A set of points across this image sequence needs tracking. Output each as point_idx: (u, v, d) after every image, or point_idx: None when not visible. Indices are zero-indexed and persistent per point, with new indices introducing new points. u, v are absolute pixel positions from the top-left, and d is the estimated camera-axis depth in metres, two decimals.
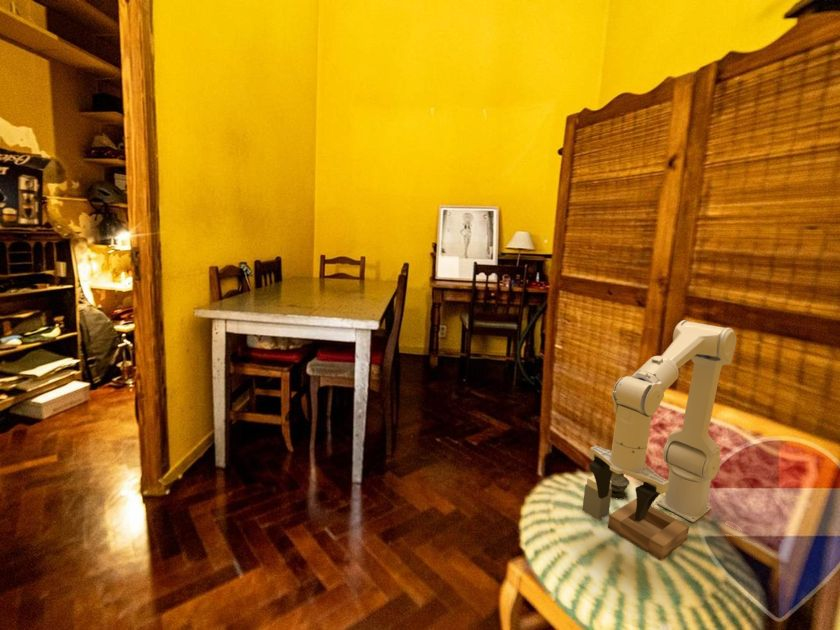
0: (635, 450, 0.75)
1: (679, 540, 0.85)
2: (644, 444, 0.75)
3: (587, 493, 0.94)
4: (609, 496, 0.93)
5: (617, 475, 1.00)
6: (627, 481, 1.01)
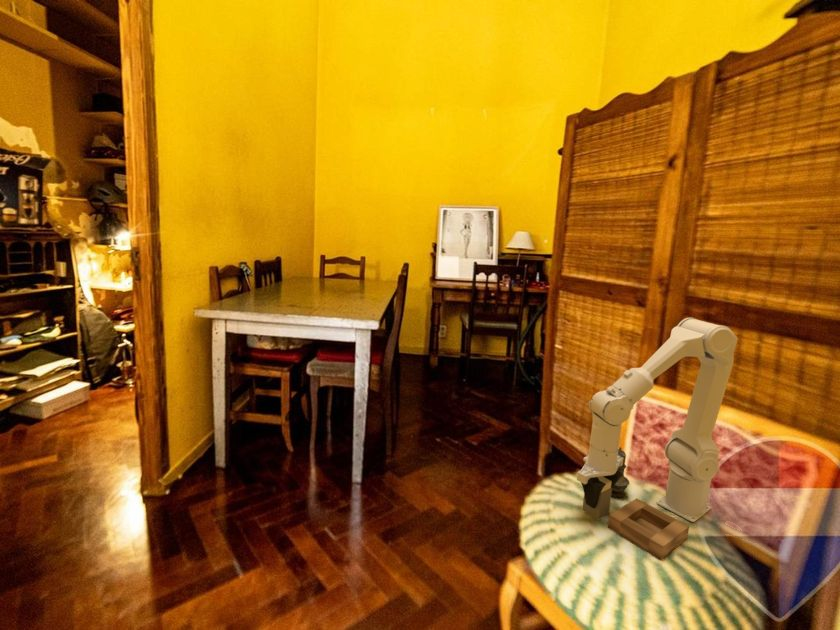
0: (590, 446, 0.92)
1: (679, 540, 0.85)
2: (609, 449, 0.89)
3: None
4: (609, 496, 0.93)
5: None
6: (627, 481, 1.01)
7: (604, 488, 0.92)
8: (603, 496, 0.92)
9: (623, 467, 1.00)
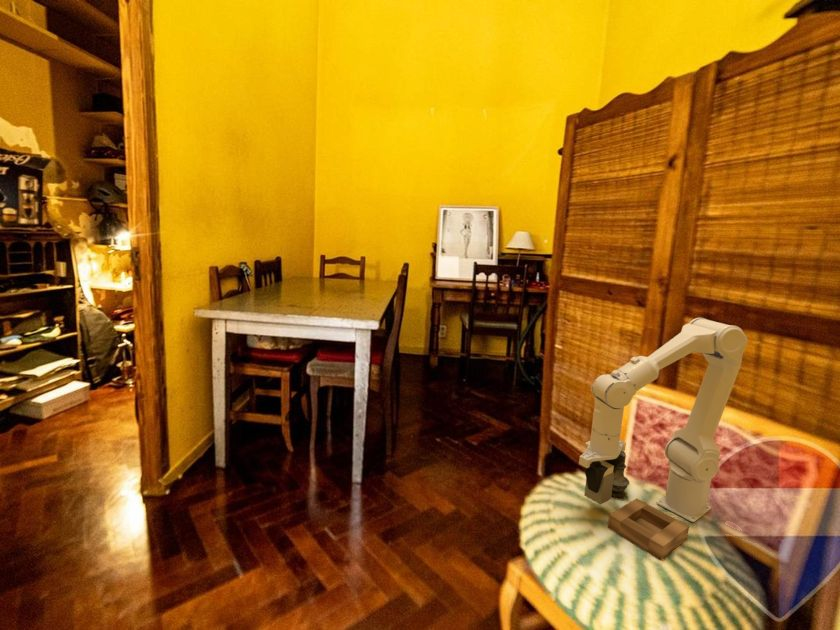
0: (592, 430, 0.92)
1: (679, 540, 0.85)
2: (612, 432, 0.88)
3: None
4: (611, 481, 0.93)
5: (617, 475, 1.00)
6: (627, 481, 1.01)
7: (606, 472, 0.91)
8: (605, 481, 0.91)
9: (623, 467, 1.00)
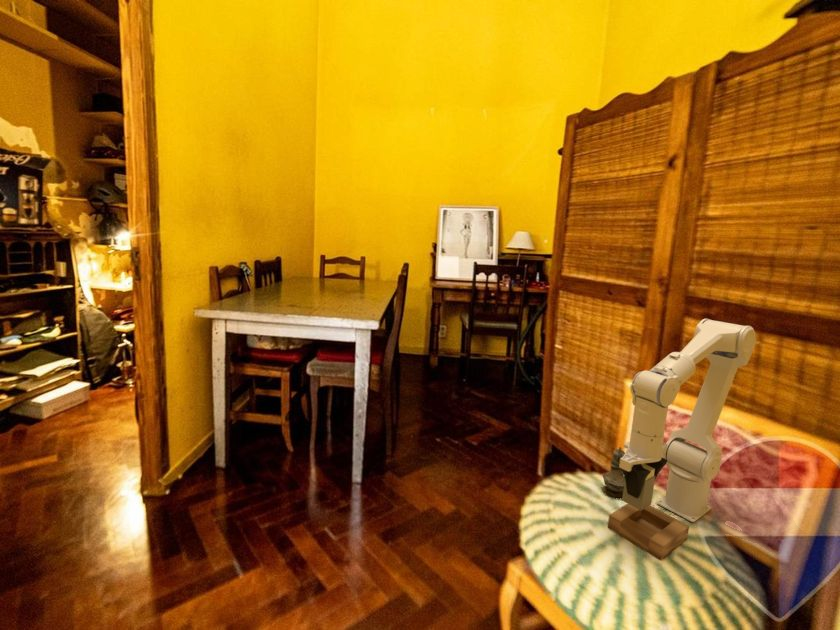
0: (632, 431, 0.85)
1: (679, 540, 0.85)
2: (660, 433, 0.82)
3: None
4: (652, 485, 0.86)
5: (617, 475, 1.00)
6: None
7: (647, 476, 0.84)
8: (646, 485, 0.84)
9: None
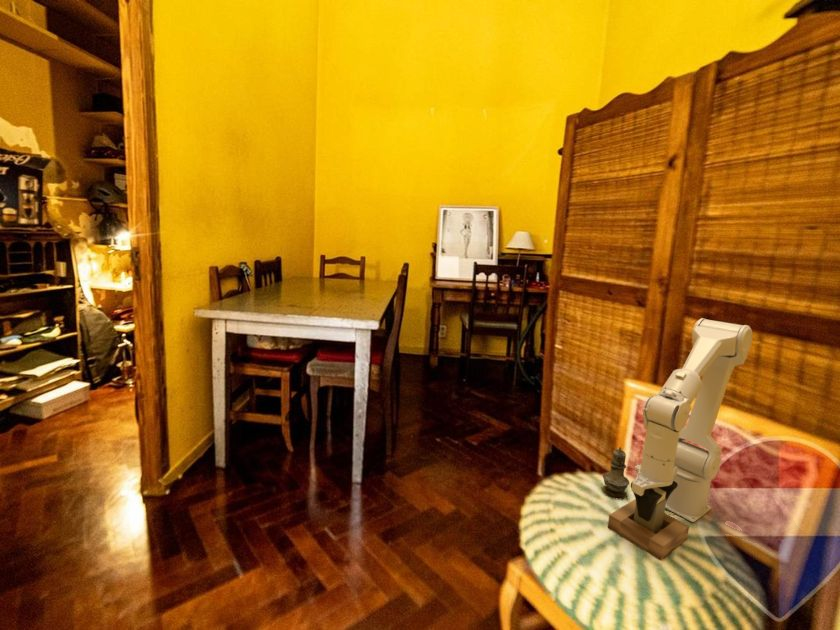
0: (644, 454, 0.86)
1: (679, 540, 0.85)
2: (673, 457, 0.83)
3: None
4: (663, 508, 0.87)
5: (617, 475, 1.00)
6: (627, 481, 1.01)
7: (659, 499, 0.85)
8: (658, 508, 0.85)
9: (623, 467, 1.00)
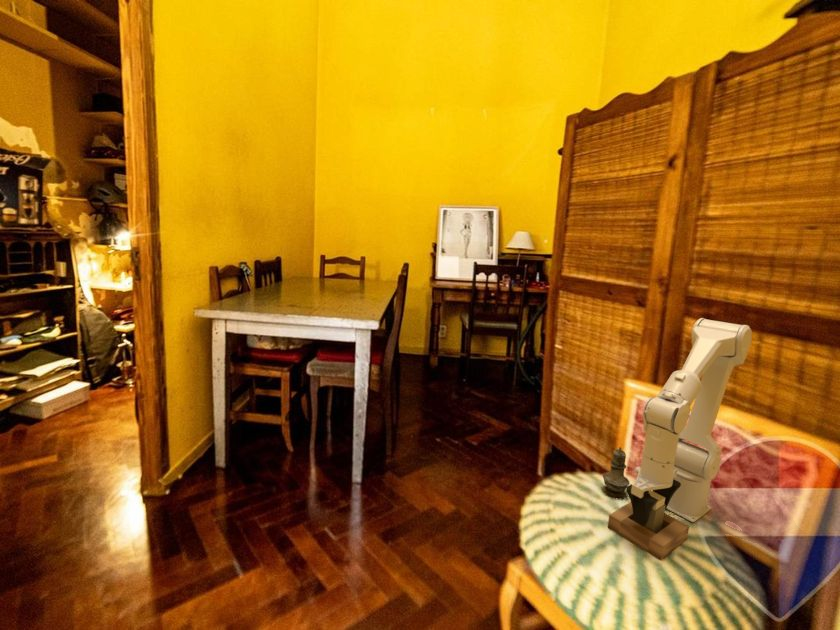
0: (644, 456, 0.86)
1: (679, 540, 0.85)
2: (672, 459, 0.83)
3: None
4: (662, 513, 0.87)
5: (617, 475, 1.00)
6: (627, 481, 1.01)
7: (658, 505, 0.85)
8: (657, 514, 0.85)
9: (623, 467, 1.00)
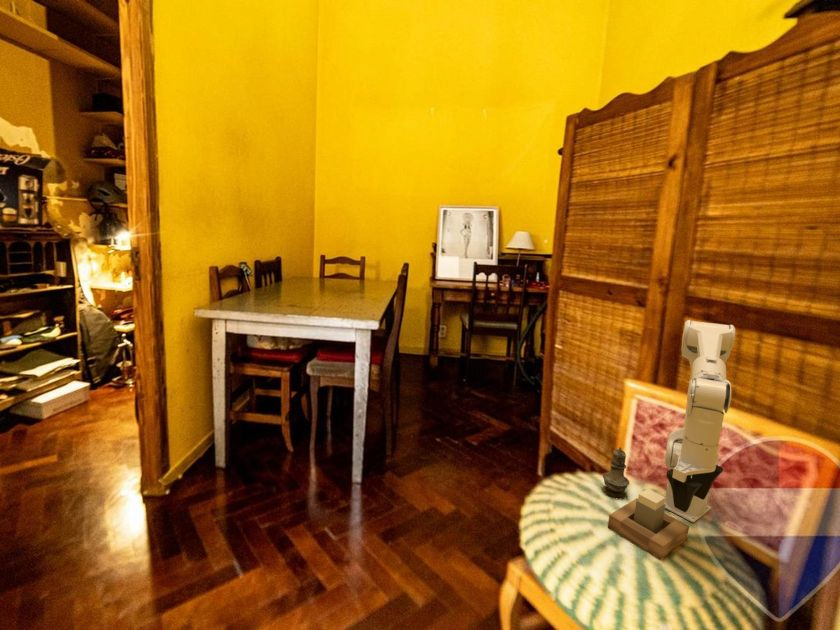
0: (685, 439, 0.82)
1: (679, 540, 0.85)
2: None
3: (638, 510, 0.88)
4: (662, 513, 0.87)
5: (617, 475, 1.00)
6: (627, 481, 1.01)
7: (658, 505, 0.85)
8: (657, 514, 0.85)
9: (623, 467, 1.00)
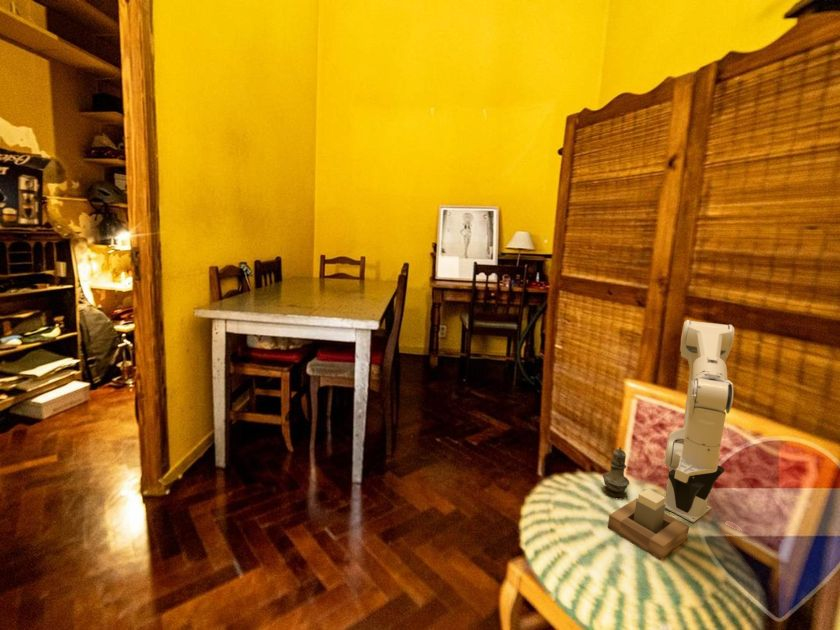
0: (686, 440, 0.82)
1: (679, 540, 0.85)
2: (720, 440, 0.79)
3: (638, 510, 0.88)
4: (662, 513, 0.87)
5: (617, 475, 1.00)
6: (627, 481, 1.01)
7: (658, 505, 0.85)
8: (657, 514, 0.85)
9: (623, 467, 1.00)
